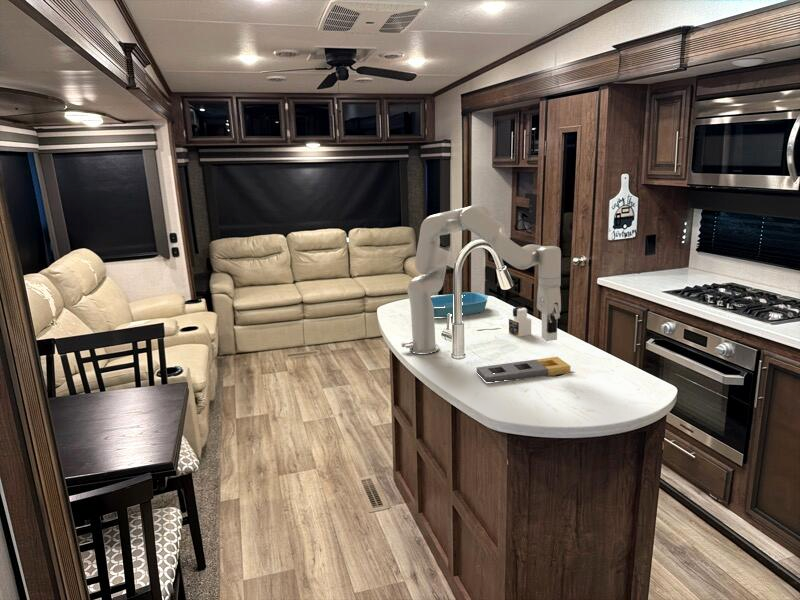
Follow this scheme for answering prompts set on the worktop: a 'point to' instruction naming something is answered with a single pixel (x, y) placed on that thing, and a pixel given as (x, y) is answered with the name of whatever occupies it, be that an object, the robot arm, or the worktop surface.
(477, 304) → the casserole dish
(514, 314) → the medicine bottle
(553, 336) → the steel peg
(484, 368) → the rail
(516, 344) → the worktop surface
